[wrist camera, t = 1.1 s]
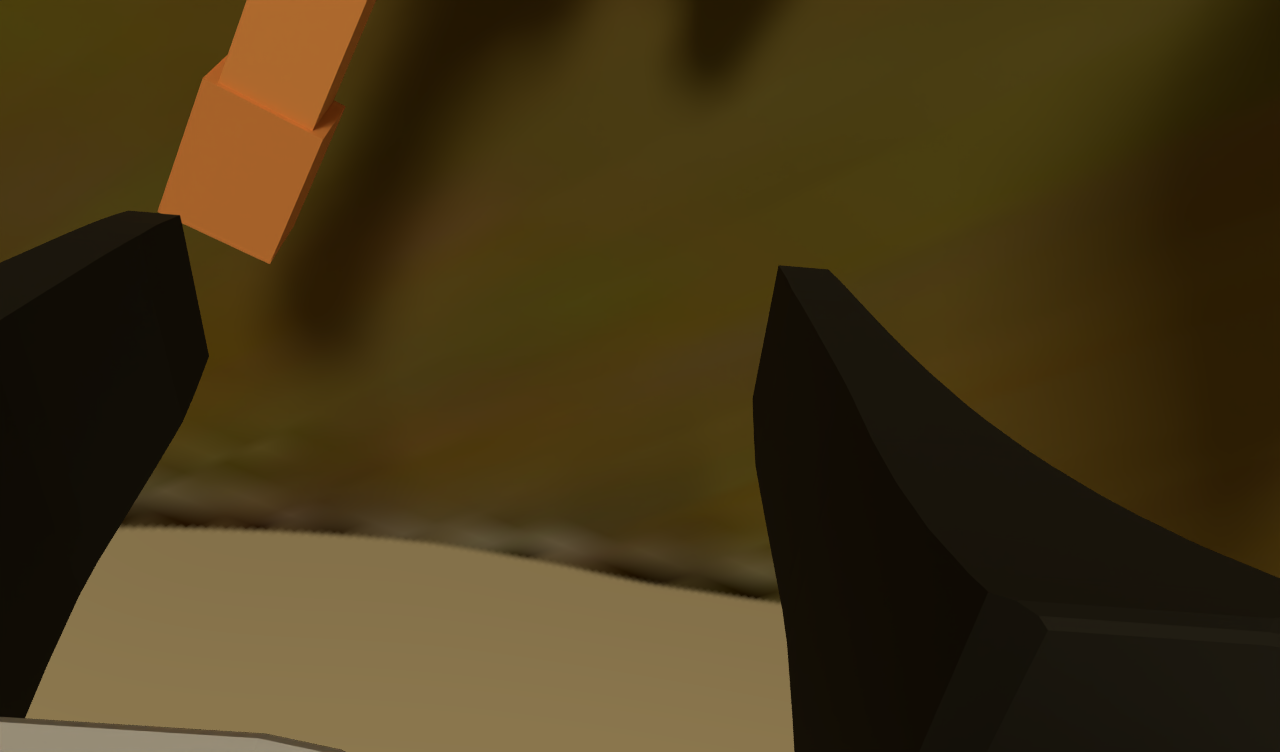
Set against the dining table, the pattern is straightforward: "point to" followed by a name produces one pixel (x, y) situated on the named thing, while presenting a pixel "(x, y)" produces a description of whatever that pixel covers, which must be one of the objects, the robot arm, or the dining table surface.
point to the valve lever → (264, 122)
